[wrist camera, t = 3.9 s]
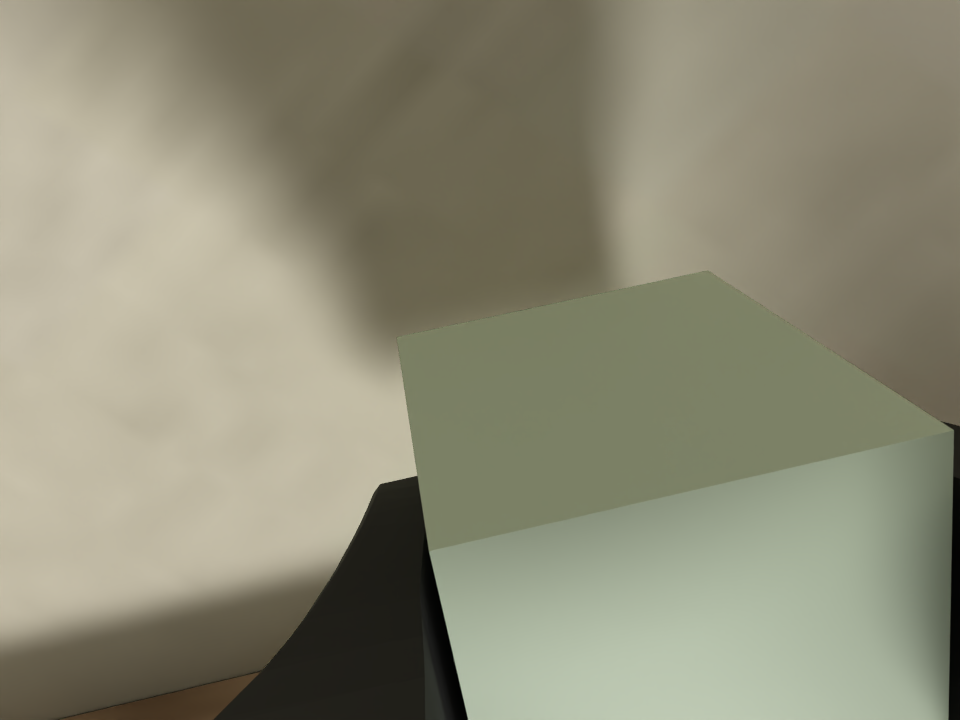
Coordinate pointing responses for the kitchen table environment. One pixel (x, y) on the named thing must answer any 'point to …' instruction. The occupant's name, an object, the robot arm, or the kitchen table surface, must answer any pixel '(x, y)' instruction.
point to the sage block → (679, 515)
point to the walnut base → (176, 703)
